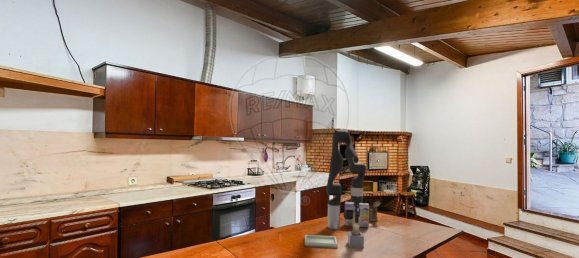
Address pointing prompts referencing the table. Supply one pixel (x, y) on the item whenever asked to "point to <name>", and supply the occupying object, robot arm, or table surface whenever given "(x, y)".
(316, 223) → the table surface
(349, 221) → the cake pan box
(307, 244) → the sage tray
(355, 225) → the birch peg
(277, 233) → the table surface
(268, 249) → the table surface
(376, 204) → the wooden mug
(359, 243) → the grey cup
